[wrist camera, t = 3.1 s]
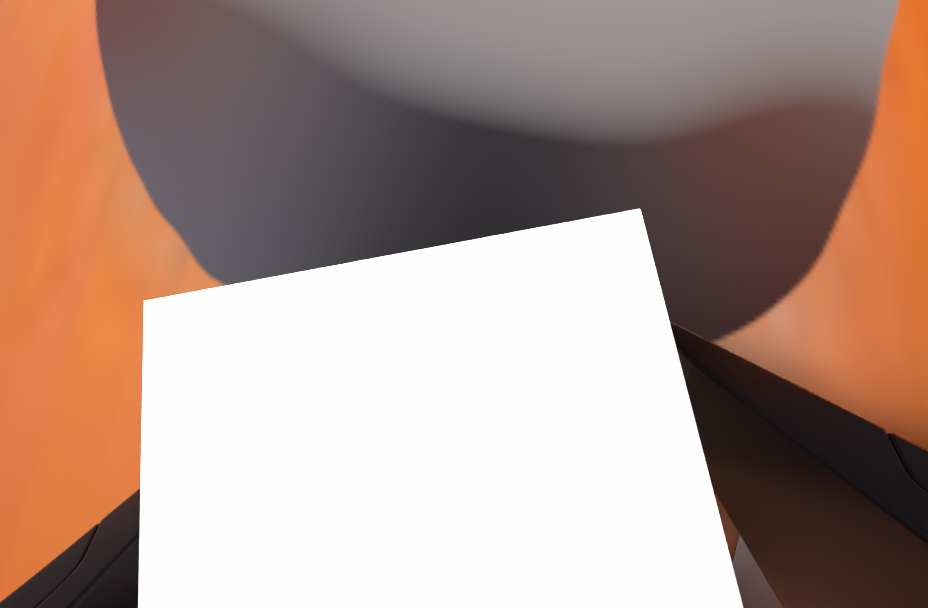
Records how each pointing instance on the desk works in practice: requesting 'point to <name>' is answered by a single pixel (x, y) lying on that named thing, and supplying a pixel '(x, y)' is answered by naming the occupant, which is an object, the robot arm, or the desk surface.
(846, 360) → the desk surface
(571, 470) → the cream block
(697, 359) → the robot arm
